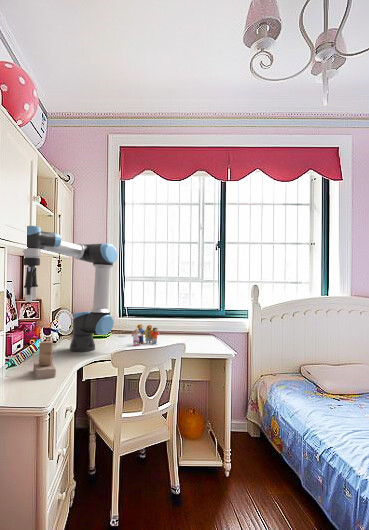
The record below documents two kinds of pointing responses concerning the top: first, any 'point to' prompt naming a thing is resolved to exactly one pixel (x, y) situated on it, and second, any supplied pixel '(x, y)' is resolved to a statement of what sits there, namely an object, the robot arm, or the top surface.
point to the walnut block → (45, 353)
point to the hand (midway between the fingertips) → (30, 300)
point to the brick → (44, 371)
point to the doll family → (150, 335)
